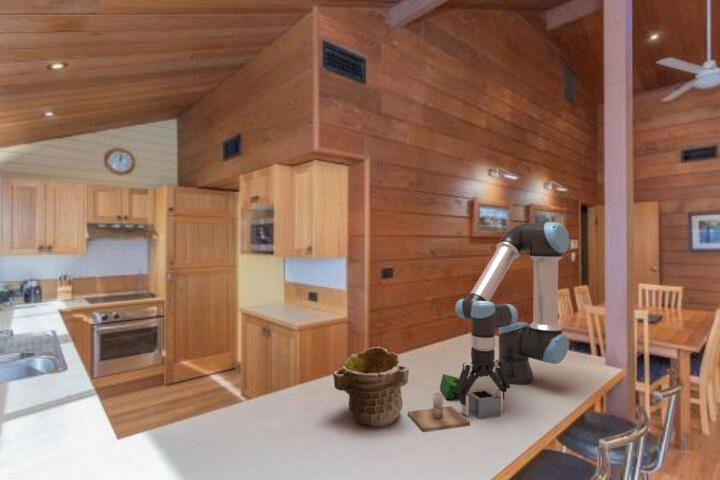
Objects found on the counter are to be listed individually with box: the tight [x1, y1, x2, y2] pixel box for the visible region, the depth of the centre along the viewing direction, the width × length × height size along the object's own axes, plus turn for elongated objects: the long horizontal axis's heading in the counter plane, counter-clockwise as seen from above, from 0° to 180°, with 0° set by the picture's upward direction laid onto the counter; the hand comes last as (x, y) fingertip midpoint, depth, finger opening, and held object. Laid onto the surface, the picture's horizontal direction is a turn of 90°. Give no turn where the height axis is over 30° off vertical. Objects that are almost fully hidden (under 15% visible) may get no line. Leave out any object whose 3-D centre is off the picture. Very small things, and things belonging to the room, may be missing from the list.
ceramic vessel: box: [332, 346, 410, 428], centre depth 127 cm, size 23×24×25 cm
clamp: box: [439, 374, 460, 401], centre depth 147 cm, size 12×6×9 cm, turn 175°
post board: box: [407, 392, 471, 433], centre depth 126 cm, size 16×12×8 cm
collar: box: [467, 388, 501, 420], centre depth 132 cm, size 8×8×6 cm
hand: (482, 411), depth 132 cm, fingers open, 12 cm apart
